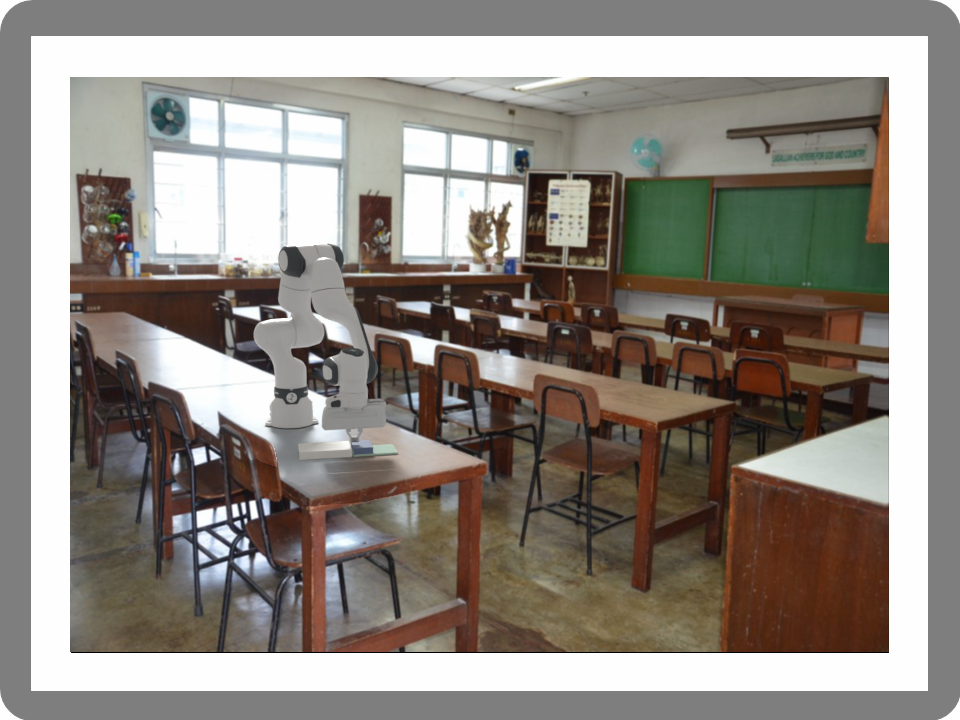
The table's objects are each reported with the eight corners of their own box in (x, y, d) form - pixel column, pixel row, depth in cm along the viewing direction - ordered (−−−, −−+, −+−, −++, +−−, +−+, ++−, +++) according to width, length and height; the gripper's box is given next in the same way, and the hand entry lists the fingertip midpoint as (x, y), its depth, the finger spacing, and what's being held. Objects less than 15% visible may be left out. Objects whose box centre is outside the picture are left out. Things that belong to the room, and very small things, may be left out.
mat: (350, 448, 256) (350, 446, 256) (393, 445, 260) (393, 444, 260) (353, 456, 247) (353, 454, 247) (397, 454, 251) (397, 452, 250)
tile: (351, 446, 256) (350, 440, 256) (369, 445, 258) (369, 439, 257) (354, 454, 247) (353, 448, 247) (373, 453, 249) (373, 447, 249)
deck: (298, 451, 252) (298, 443, 252) (348, 448, 256) (348, 440, 256) (299, 460, 243) (299, 452, 242) (351, 456, 247) (351, 449, 246)
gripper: (385, 396, 255) (385, 437, 257) (320, 398, 249) (321, 441, 252) (387, 400, 249) (388, 442, 251) (322, 403, 243) (322, 446, 246)
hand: (354, 441), depth 251 cm, fingers closed
